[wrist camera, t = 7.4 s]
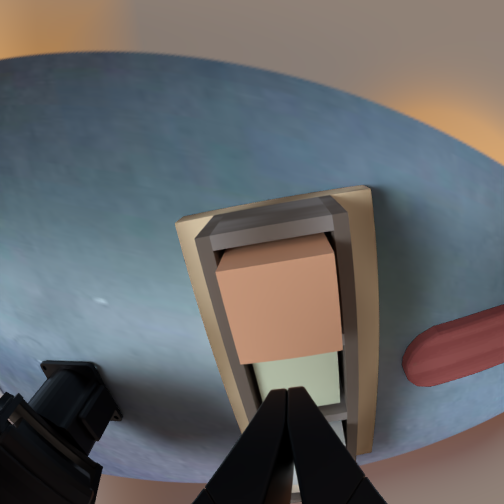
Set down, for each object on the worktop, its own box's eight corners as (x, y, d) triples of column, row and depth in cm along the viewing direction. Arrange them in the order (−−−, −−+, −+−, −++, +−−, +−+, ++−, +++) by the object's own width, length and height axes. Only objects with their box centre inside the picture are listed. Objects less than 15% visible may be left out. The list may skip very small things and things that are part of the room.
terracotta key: (247, 324, 15) (240, 364, 12) (227, 244, 14) (215, 272, 11) (331, 312, 14) (342, 350, 11) (321, 228, 13) (334, 252, 10)
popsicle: (543, 346, 18) (403, 397, 20) (534, 337, 19) (397, 383, 21) (557, 293, 16) (410, 340, 18) (547, 285, 17) (403, 327, 19)
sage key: (267, 377, 18) (265, 412, 15) (254, 323, 17) (250, 356, 14) (333, 367, 18) (340, 402, 15) (328, 312, 17) (336, 344, 14)
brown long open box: (256, 454, 24) (251, 504, 19) (182, 216, 17) (145, 247, 12) (368, 439, 23) (379, 489, 18) (362, 184, 16) (399, 204, 11)
